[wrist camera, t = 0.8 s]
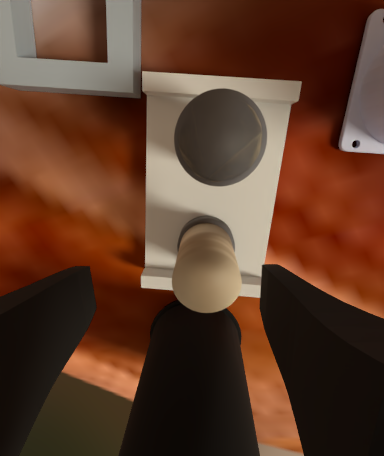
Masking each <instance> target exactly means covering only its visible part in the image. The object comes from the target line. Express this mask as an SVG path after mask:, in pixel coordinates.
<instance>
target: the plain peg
mask: <svg viewBox="0 0 384 456" xmlns="http://www.w3.org/2000/svg"><path fill="white" fill-rule="evenodd" d="M266 144H267V128H266V123H265V120H264V117H263V115H262V112H261V111H260V109H259V108H258V106H257V105H256V104H255V103H254V101H252V100H251V99H250V98H249V97H248V96H246V95H244V94H243V93H241V92H238V91H235V90H232V89H226V88H219V89H212V90H209V91H206V92H204V93H201V94H200V95H198V96H196V97H195V98H194V99H192V100H191V101H190V102H189V103H188V104H187V105H186V107H185V108H184V109H183V111H182V112H181V114H180V116H179V118H178V121H177V123H176V127H175V133H174V146H175V151H176V155H177V157H178V160H179V162H180V164H181V165H182V167H183V168H184V170H185V171H186V172H187V173H188V174H189V175H190V176H191V177H192V178H194V179H195V180H197V181H199V182H201V183H203V184H206V185H209V186H220V187H222V186H228V185H232V184H235V183H238V182H240V181H241V180H243V179H245V178H246V177H248V176H249V175H250V174H251V173H252V172H253V171H254V170H255V169H256V167H257V166H258V165H259V163H260V161H261V159H262V157H263V155H264V152H265V149H266Z"/></svg>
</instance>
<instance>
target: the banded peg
mask: <svg viewBox="0 0 384 456" xmlns="http://www.w3.org/2000/svg"><path fill="white" fill-rule="evenodd" d="M177 250H178V255H177V259H176V263H175V267H174V271H173V275H172V288H173V291H174V294H175V296H176V297H177V299H178V300H179V301H180V302H181V303H182V304H183V305H184V306H186V307H187V308H189V309H191V310H193V311H197V312H201V313H213V312H218V311H221V310H223V309H225V308H227V307H228V306H230V305H231V304H232V303H233V302H234V301H235V300H236V298H237V297H238V295H239V293H240V290H241V285H242V279H241V274H240V271H239V267H238V263H237V260H236V256H235V253H234V252H235V242H234V238H233V235H232V232H231V230H230V228H229V227H228V225H227V224H226V223H225V222H223V221H222V220H220V219H219V218H216V217H213V216H199V217H196V218H193V219H192V220H190V221H189V222H187V223H186V224H185V226H184V227H183V228H182V230H181V232H180V236H179V239H178V244H177Z"/></svg>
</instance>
